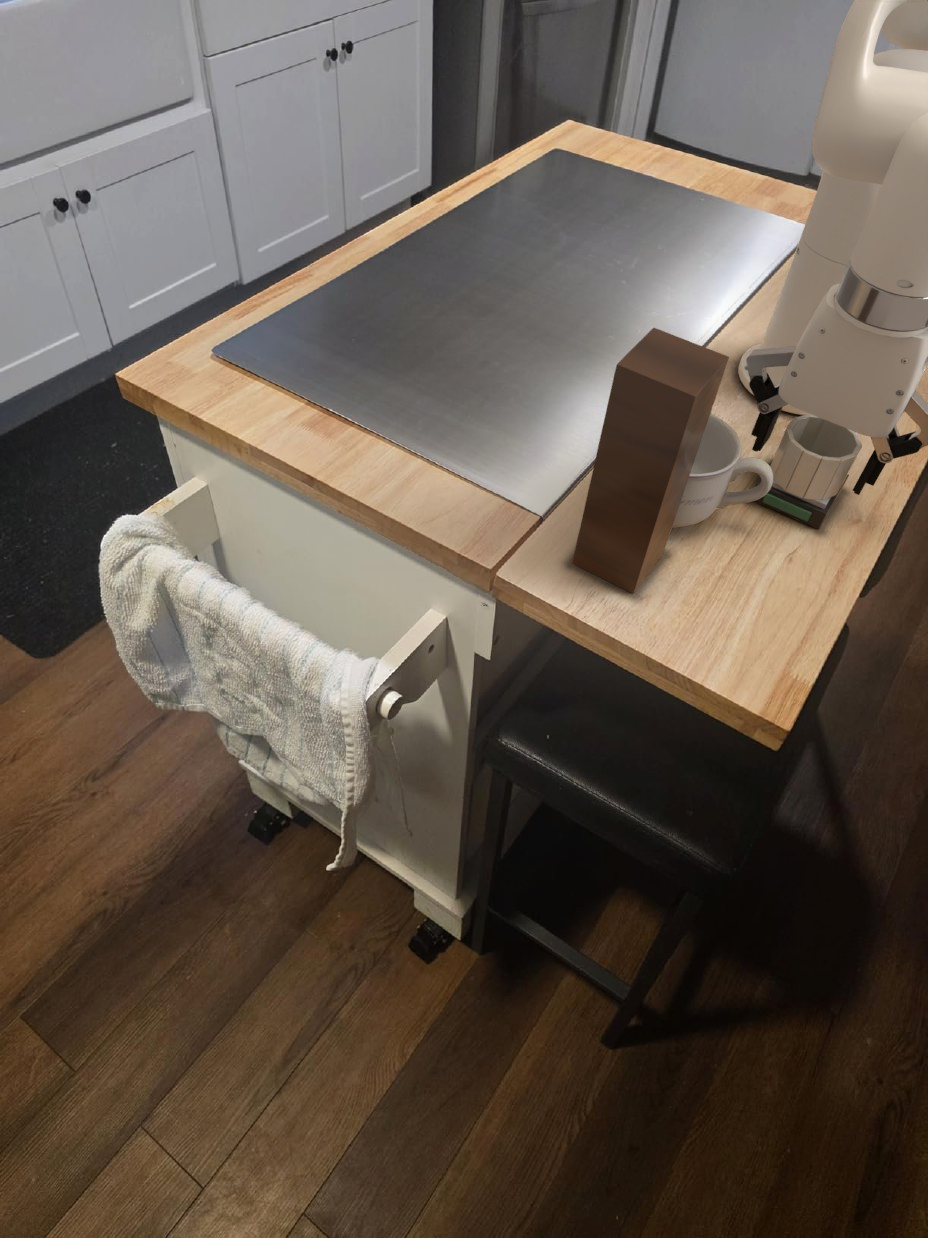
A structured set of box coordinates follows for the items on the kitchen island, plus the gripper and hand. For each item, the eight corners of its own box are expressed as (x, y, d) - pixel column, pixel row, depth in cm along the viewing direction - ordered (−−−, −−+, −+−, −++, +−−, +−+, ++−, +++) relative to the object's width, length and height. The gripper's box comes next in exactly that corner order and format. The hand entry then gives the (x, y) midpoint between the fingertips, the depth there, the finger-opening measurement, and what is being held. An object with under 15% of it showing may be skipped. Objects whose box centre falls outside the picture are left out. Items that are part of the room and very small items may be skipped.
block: (603, 524, 79) (653, 326, 64) (663, 553, 77) (729, 356, 62) (571, 563, 76) (616, 363, 60) (633, 594, 74) (695, 396, 59)
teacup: (581, 510, 80) (597, 441, 74) (634, 450, 86) (652, 382, 80) (721, 578, 76) (750, 510, 70) (766, 509, 82) (796, 442, 76)
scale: (774, 462, 86) (783, 441, 84) (841, 490, 84) (852, 469, 82) (748, 500, 82) (757, 479, 80) (817, 531, 80) (828, 510, 78)
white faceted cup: (784, 445, 84) (801, 405, 81) (849, 472, 82) (870, 432, 79) (760, 480, 80) (777, 440, 77) (827, 509, 78) (848, 470, 75)
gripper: (1014, 312, 67) (912, 480, 80) (799, 239, 72) (737, 408, 86) (992, 356, 63) (889, 526, 76) (767, 276, 68) (707, 448, 82)
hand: (809, 464), depth 81 cm, fingers open, 9 cm apart
